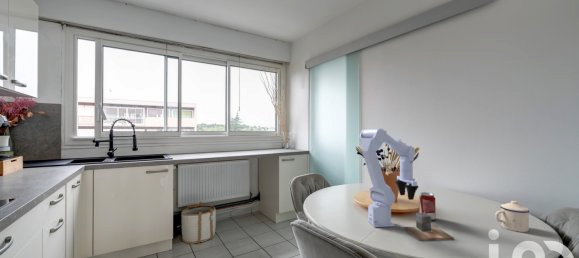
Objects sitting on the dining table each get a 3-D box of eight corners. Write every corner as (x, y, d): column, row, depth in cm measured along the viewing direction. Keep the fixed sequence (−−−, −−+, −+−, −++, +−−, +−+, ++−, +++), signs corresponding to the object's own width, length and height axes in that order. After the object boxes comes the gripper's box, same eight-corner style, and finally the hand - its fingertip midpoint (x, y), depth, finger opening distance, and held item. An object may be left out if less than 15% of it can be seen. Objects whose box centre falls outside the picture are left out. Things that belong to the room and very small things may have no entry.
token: (421, 231, 98) (421, 216, 98) (416, 227, 102) (416, 213, 102) (431, 230, 98) (431, 216, 98) (425, 226, 102) (425, 213, 102)
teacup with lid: (517, 224, 107) (517, 198, 107) (535, 233, 98) (535, 204, 98) (488, 223, 108) (488, 197, 108) (503, 231, 99) (503, 204, 99)
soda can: (438, 221, 110) (437, 196, 110) (422, 220, 111) (421, 195, 111) (432, 216, 117) (432, 192, 117) (417, 215, 118) (417, 191, 118)
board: (419, 240, 92) (419, 238, 92) (403, 228, 103) (403, 226, 103) (453, 239, 92) (453, 237, 92) (435, 227, 103) (434, 225, 103)
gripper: (423, 172, 111) (423, 201, 111) (406, 167, 125) (406, 193, 125) (408, 172, 110) (408, 201, 110) (393, 167, 125) (393, 193, 125)
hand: (406, 197), depth 118 cm, fingers open, 7 cm apart
